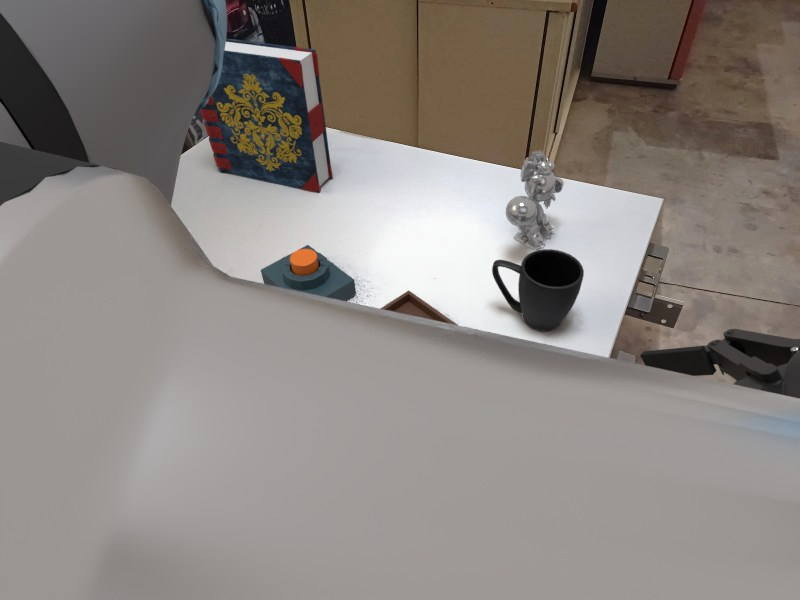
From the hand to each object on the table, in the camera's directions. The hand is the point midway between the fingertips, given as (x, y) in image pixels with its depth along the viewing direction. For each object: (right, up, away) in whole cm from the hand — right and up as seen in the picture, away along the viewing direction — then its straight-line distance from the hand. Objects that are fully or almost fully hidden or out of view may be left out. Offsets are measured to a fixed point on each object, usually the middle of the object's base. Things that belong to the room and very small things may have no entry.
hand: (610, 402), depth 53 cm
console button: (-34, +15, +30) cm, 48 cm away
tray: (-20, +4, +25) cm, 32 cm away
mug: (-1, +8, +28) cm, 29 cm away
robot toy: (+2, +20, +41) cm, 45 cm away
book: (-46, +35, +59) cm, 83 cm away
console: (-34, +11, +33) cm, 49 cm away
